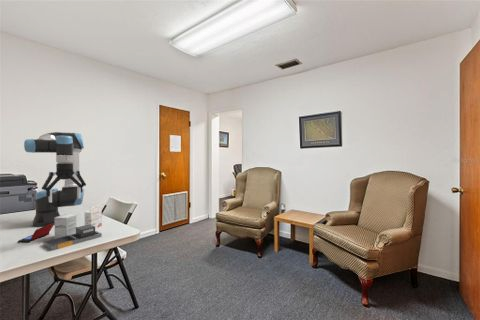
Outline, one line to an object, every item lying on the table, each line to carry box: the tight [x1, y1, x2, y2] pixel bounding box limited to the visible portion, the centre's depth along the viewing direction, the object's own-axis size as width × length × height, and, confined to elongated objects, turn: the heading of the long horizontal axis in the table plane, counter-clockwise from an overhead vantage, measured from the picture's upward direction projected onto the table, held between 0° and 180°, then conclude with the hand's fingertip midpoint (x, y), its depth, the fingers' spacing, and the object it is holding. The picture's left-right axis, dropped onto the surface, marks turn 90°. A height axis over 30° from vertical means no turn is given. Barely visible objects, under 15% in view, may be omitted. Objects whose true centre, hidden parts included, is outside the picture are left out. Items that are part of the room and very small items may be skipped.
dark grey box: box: [76, 224, 96, 239], centre depth 127 cm, size 7×7×6 cm
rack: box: [42, 230, 102, 251], centre depth 122 cm, size 12×23×3 cm, turn 146°
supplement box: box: [54, 213, 77, 239], centre depth 129 cm, size 7×7×13 cm
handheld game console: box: [17, 223, 55, 244], centre depth 127 cm, size 12×11×7 cm
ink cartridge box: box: [83, 204, 103, 230], centre depth 144 cm, size 9×5×15 cm, turn 168°
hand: (65, 200), depth 128 cm, fingers open, 13 cm apart
